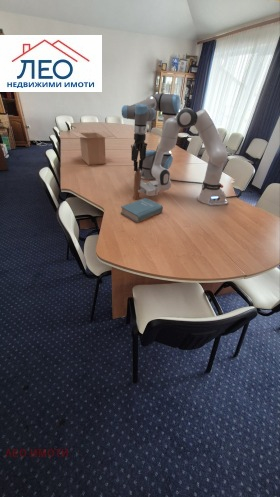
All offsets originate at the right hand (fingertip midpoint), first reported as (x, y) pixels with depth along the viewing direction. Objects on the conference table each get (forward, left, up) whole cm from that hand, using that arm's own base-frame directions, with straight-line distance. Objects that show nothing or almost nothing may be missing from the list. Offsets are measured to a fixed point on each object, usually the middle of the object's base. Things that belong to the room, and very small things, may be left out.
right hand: (135, 189), depth 162 cm
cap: (-1, 0, +15) cm, 15 cm away
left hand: (-1, 0, +14) cm, 14 cm away
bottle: (-1, 0, -7) cm, 7 cm away
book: (-3, +24, -7) cm, 26 cm away
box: (+41, -92, -7) cm, 101 cm away
